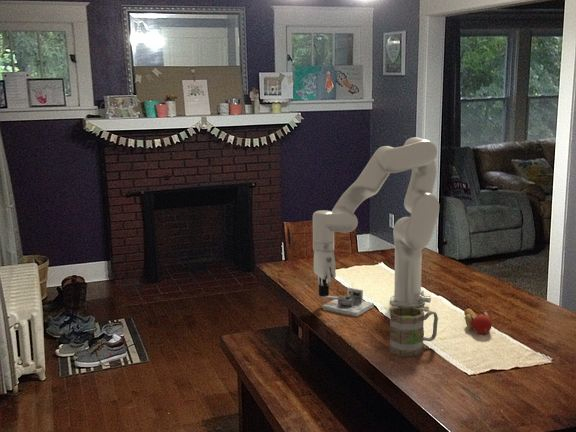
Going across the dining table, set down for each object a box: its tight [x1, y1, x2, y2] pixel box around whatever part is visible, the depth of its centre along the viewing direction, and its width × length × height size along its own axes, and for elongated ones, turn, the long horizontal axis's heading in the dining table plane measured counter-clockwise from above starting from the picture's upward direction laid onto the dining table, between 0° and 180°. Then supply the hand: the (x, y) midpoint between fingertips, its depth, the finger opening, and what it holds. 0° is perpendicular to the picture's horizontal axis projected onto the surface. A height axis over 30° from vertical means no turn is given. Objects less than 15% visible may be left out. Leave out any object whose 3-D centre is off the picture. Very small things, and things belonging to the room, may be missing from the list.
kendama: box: [463, 308, 492, 335], centre depth 215 cm, size 8×6×18 cm
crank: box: [320, 295, 355, 306], centre depth 235 cm, size 12×6×8 cm, turn 68°
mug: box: [388, 306, 439, 358], centre depth 197 cm, size 16×11×12 cm
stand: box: [322, 287, 375, 318], centre depth 234 cm, size 14×12×6 cm
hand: (323, 295), depth 233 cm, fingers closed
